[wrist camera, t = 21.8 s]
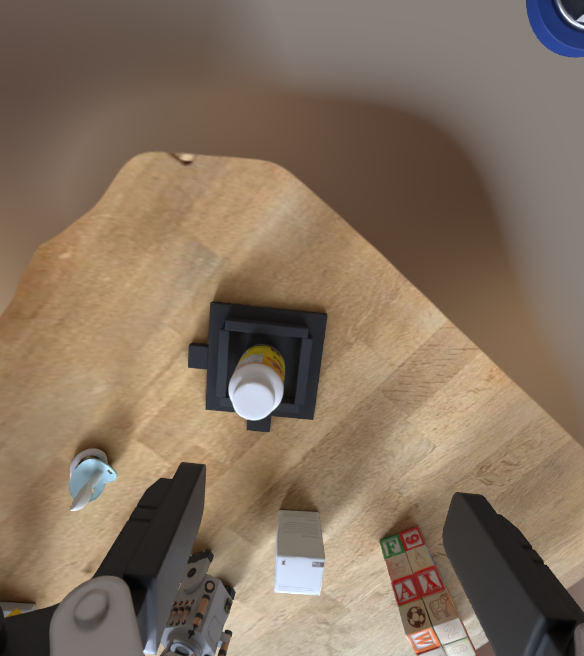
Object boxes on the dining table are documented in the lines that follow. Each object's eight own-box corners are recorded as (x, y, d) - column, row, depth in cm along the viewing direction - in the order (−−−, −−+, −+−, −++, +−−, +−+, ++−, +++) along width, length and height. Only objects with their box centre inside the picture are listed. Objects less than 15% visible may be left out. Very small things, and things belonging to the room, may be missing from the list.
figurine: (151, 566, 49) (91, 702, 34) (220, 543, 48) (188, 673, 33) (179, 609, 51) (133, 753, 36) (245, 587, 50) (225, 728, 35)
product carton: (275, 542, 48) (272, 594, 40) (278, 508, 46) (276, 555, 39) (316, 544, 48) (320, 597, 41) (320, 511, 46) (325, 559, 39)
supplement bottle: (288, 381, 40) (287, 424, 30) (245, 387, 41) (229, 432, 31) (281, 339, 39) (277, 369, 29) (236, 345, 39) (217, 378, 29)
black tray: (192, 299, 39) (185, 302, 36) (326, 313, 39) (328, 317, 37) (188, 420, 43) (182, 430, 40) (310, 432, 43) (311, 443, 41)
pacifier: (63, 470, 45) (97, 496, 46) (26, 503, 39) (66, 533, 40) (94, 436, 44) (129, 464, 44) (61, 465, 37) (101, 497, 38)
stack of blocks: (464, 623, 51) (516, 737, 39) (427, 636, 52) (467, 751, 40) (417, 524, 47) (460, 619, 35) (377, 539, 48) (406, 638, 36)
